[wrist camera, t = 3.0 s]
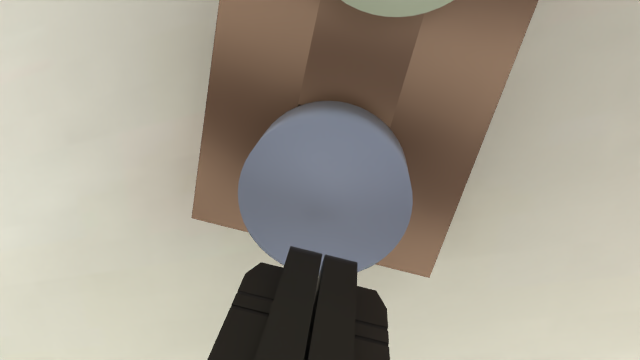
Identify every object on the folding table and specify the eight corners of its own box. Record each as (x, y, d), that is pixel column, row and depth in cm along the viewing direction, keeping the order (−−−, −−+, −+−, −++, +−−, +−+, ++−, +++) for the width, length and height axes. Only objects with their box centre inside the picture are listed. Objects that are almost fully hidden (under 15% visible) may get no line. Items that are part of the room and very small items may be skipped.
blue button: (284, 67, 17) (252, 96, 13) (419, 101, 17) (437, 143, 12) (260, 190, 19) (226, 253, 15) (380, 220, 19) (384, 293, 15)
